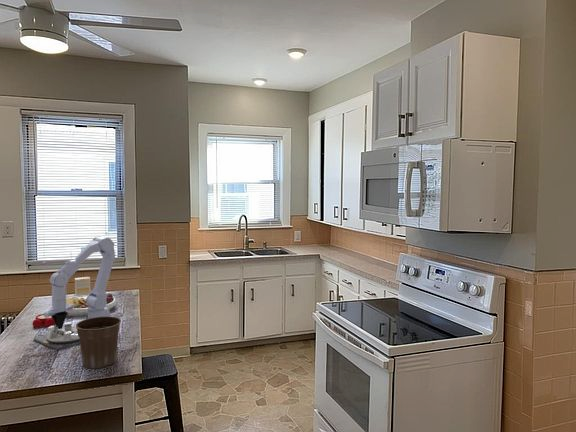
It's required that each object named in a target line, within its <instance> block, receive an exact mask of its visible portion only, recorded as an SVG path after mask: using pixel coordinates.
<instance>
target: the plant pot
mask: <svg viewBox="0 0 576 432" xmlns="http://www.w3.org/2000/svg"><path fill="white" fill-rule="evenodd" d="M121 323H122V319H120V318H119V317H116V316H110V317H95V318H89V319H88V318H86V319H83V320H81V321H78V322H77V323H76V324H75V327H76V328H77V331H78V336H79V339H80V344H79V345H80V346H79V347H80V353H81V361H82V366H83V367H85V368H86V369H91V368H93V369H94V370H95V369H97V370H98V369H102V368H105V367H106V366H112V365H113V364H115V363H116V362H117V356H118V354H117V353H118V343H119V332H120V326H121Z"/></svg>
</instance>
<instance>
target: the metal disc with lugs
mask: <svg viewBox="0 0 576 432" xmlns="http://www.w3.org/2000/svg"><path fill="white" fill-rule="evenodd" d="M45 335H46V340H47V341H48V342H52V343H68V342H74V341H78V340H80V339H79V336H78V331H77V328H76V326H73V325H72V321H67V322H66V321H64V327H63V328H62V329H58V326H56V325H53V326H50V327H47V331H46V334H45Z"/></svg>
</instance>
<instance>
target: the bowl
mask: <svg viewBox="0 0 576 432" xmlns="http://www.w3.org/2000/svg"><path fill="white" fill-rule="evenodd" d="M106 294H107V298H106V301H107V304H106V307H107V308H108V309H109V311H110V310H112V309H113V308H114V307H115V305H116V297H114V295H113V294H112V293H110V292H109V293H106ZM88 296H89V295H83V296H76V297H75V296H72V297H71V296H70V297H66V306H67V305H73V309H70V310H67V311H65V312H68V315H67V316H68V317H86V316H87V317H88V306H87V304H86V298H87V297H88ZM67 316H66V317H67Z"/></svg>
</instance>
